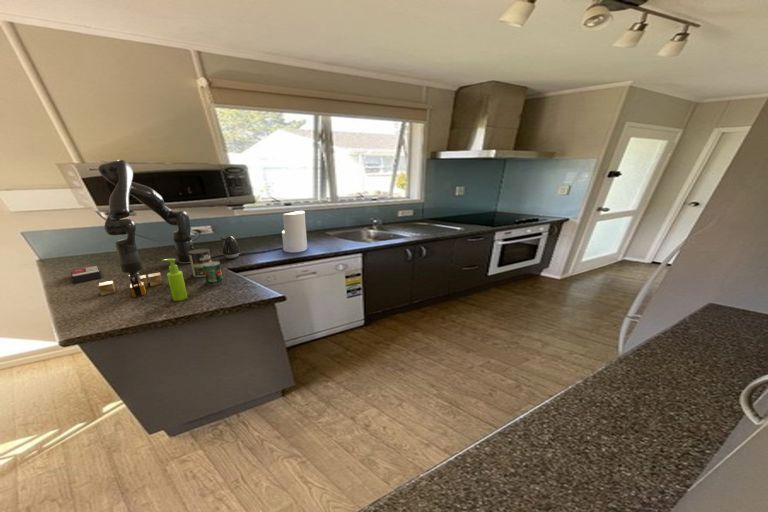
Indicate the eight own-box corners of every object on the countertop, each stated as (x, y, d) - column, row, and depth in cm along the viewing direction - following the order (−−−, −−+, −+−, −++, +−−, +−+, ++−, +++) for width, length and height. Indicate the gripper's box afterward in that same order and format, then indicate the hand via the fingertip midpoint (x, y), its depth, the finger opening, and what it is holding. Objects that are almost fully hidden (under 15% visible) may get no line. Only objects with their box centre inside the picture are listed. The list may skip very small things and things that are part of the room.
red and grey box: (97, 265, 167) (99, 270, 157) (99, 271, 169) (101, 277, 159) (70, 269, 160) (70, 275, 150) (73, 276, 161) (73, 283, 151)
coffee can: (217, 271, 170) (213, 249, 166) (201, 278, 161) (197, 254, 156) (204, 269, 173) (200, 247, 169) (188, 275, 164) (183, 252, 160)
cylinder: (312, 248, 219) (309, 212, 210) (294, 253, 205) (291, 215, 196) (296, 244, 228) (293, 209, 219) (278, 249, 214) (274, 212, 205)
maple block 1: (115, 289, 145) (112, 280, 144) (114, 292, 142) (112, 283, 140) (102, 292, 142) (99, 282, 141) (101, 295, 139) (98, 286, 137)
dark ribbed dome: (225, 255, 198) (221, 234, 194) (241, 254, 201) (238, 233, 197) (222, 260, 189) (218, 238, 184) (239, 259, 192) (236, 237, 187)
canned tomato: (204, 282, 156) (201, 263, 152) (220, 278, 161) (217, 260, 158) (208, 286, 150) (205, 267, 147) (225, 282, 156) (221, 263, 152)
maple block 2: (162, 280, 157) (159, 272, 155) (162, 283, 153) (160, 275, 151) (150, 282, 154) (148, 274, 152) (150, 286, 150) (148, 277, 148)
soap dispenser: (175, 295, 140) (166, 257, 134) (190, 295, 140) (181, 257, 134) (167, 301, 134) (157, 261, 128) (183, 300, 135) (174, 261, 129)
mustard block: (145, 290, 144) (143, 281, 143) (145, 294, 141) (143, 285, 139) (132, 293, 141) (130, 284, 140) (132, 297, 138) (129, 287, 136)
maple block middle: (148, 283, 153) (145, 274, 151) (148, 286, 149) (145, 277, 148) (136, 285, 150) (133, 276, 148) (135, 288, 146) (133, 279, 145)
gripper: (140, 263, 132) (148, 296, 138) (140, 255, 143) (148, 286, 148) (118, 266, 128) (128, 300, 133) (120, 258, 139) (129, 289, 144)
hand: (139, 292), depth 141 cm, fingers open, 6 cm apart
